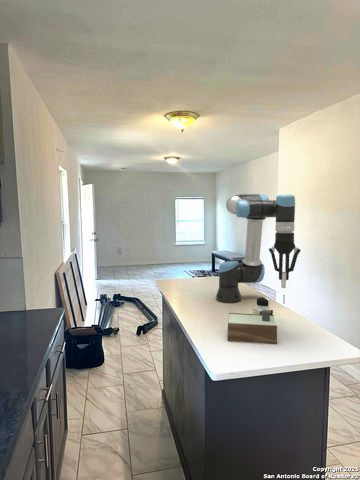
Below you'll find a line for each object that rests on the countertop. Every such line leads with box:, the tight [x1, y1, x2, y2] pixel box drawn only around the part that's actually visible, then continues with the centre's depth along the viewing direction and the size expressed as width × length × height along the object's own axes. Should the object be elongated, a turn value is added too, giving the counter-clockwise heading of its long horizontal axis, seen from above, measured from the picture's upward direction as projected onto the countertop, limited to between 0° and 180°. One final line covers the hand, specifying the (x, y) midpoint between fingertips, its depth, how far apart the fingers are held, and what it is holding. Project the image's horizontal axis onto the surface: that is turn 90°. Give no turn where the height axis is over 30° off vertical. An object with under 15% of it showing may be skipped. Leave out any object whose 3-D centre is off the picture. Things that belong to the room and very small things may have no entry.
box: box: [227, 312, 278, 345], centre depth 141 cm, size 14×20×8 cm
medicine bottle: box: [252, 296, 274, 315], centre depth 158 cm, size 7×7×12 cm
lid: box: [228, 310, 277, 326], centre depth 140 cm, size 12×20×5 cm, turn 79°
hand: (283, 287), depth 136 cm, fingers closed
